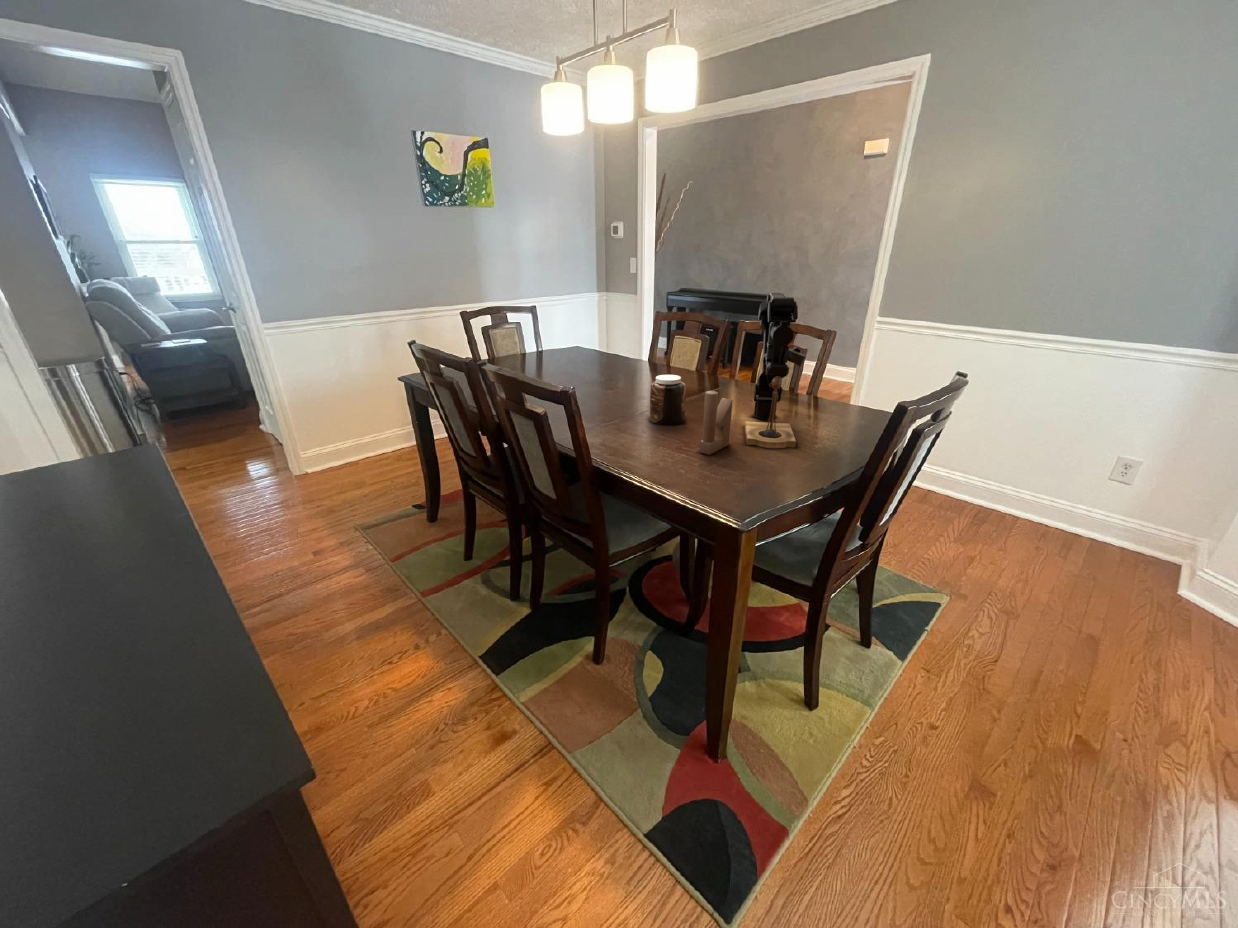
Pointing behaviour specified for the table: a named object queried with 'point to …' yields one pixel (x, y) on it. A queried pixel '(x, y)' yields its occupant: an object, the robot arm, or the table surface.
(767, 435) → the wooden tabletop sculpture
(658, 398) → the jar
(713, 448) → the beige post stand
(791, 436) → the wooden board with hole
